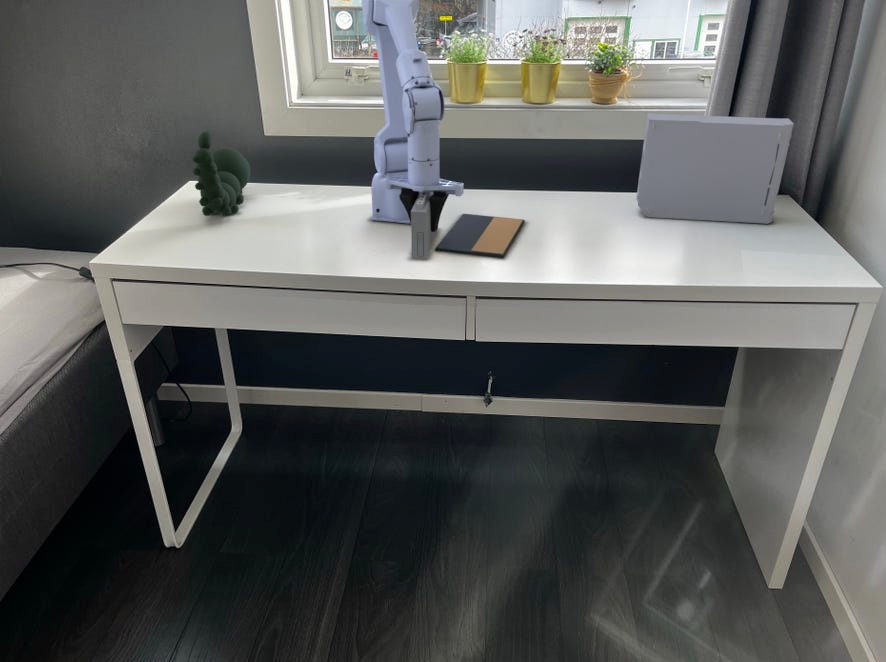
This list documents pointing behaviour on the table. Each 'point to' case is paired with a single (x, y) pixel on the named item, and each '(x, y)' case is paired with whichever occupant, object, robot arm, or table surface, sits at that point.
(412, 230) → the cassette player
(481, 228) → the desk mat
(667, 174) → the game console
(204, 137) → the toy figurine
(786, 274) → the table surface
